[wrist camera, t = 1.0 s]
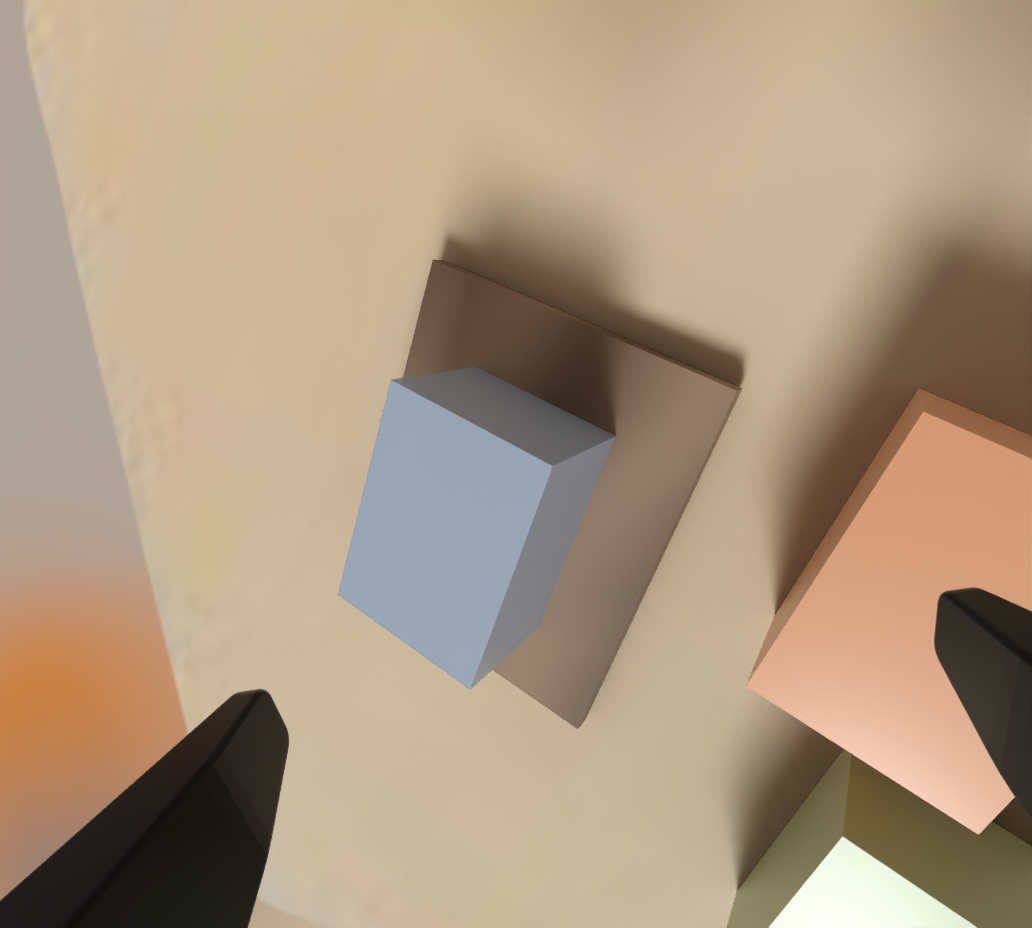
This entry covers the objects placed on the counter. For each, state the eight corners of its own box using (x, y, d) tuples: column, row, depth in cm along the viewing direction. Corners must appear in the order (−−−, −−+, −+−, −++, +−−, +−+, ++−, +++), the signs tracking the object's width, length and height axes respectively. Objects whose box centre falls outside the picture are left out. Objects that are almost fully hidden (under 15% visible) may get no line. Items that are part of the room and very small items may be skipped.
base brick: (615, 436, 19) (553, 466, 15) (537, 628, 21) (470, 689, 18) (474, 366, 20) (391, 380, 17) (419, 551, 23) (338, 594, 20)
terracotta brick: (1164, 492, 14) (1248, 552, 10) (962, 726, 17) (978, 834, 13) (918, 387, 16) (923, 411, 12) (774, 615, 18) (745, 686, 15)
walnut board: (742, 388, 17) (737, 391, 17) (585, 719, 22) (577, 729, 21) (444, 260, 21) (432, 259, 20) (364, 567, 26) (353, 573, 25)
